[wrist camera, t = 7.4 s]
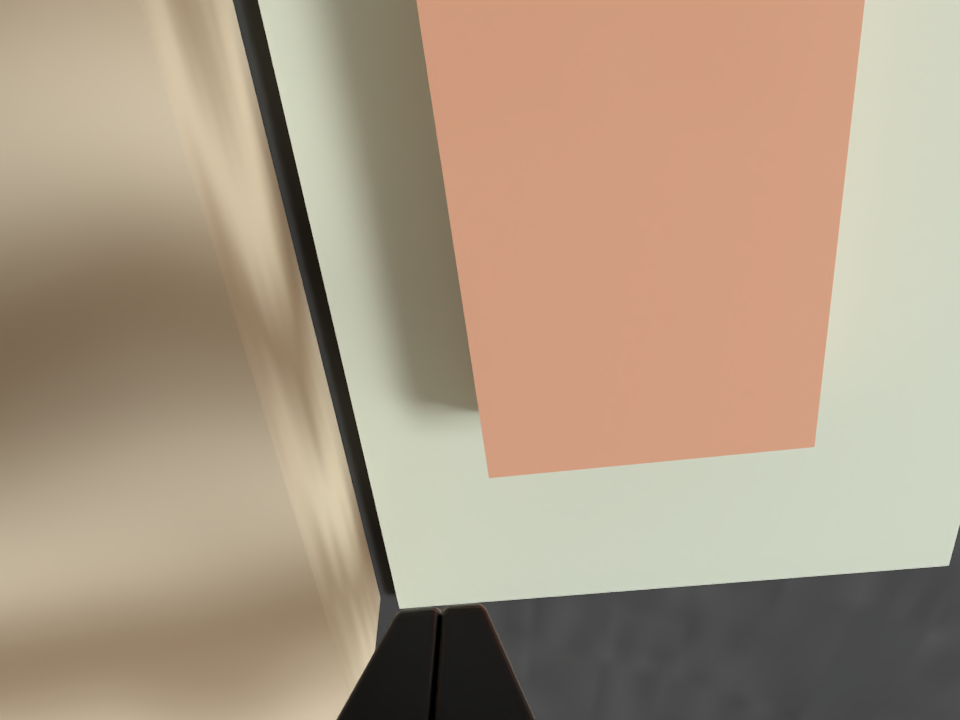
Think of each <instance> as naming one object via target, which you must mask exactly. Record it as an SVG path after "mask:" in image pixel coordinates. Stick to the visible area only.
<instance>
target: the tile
mask: <svg viewBox="0 0 960 720" xmlns="http://www.w3.org/2000/svg"><path fill="white" fill-rule="evenodd" d="M416 2H417V9H418V15H419V22H420V29H421V35H422V42H423V48H424V55H425V61H426V68H427V74H428V81H429V88H430V94H431V101H432V107H433V114H434V120H435V127H436V134H437V140H438V147H439V153H440V160H441V166H442V173H443V180H444V186H445V193H446V199H447V206H448V212H449V219H450V226H451V232H452V239H453V245H454V252H455V258H456V265H457V271H458V278H459V285H460V291H461V298H462V304H463V311H464V317H465V324H466V331H467V337H468V344H469V350H470V357H471V363H472V370H473V377H474V383H475V390H476V396H477V403H478V409H479V416H480V422H481V429H482V436H483V442H484V449H485V455H486V462H487V468H488V475H489V478H496V477H507V476H517V475H528V474H538V473H548V472H559V471H569V470H580V469H590V468H601V467H611V466H622V465H632V464H643V463H653V462H663V461H674V460H684V459H695V458H705V457H716V456H726V455H737V454H747V453H757V452H768V451H778V450H789V449H799V448H810V447H815V438H816V429H817V420H818V411H819V402H820V393H821V385H822V376H823V367H824V358H825V349H826V340H827V331H828V323H829V314H830V305H831V296H832V287H833V278H834V269H835V261H836V252H837V243H838V234H839V225H840V216H841V207H842V199H843V190H844V181H845V172H846V163H847V154H848V146H849V137H850V128H851V119H852V110H853V101H854V92H855V84H856V75H857V66H858V57H859V48H860V39H861V30H862V22H863V13H864V4H865V0H416Z"/></svg>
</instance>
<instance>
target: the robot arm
mask: <svg viewBox="0 0 960 720" xmlns="http://www.w3.org/2000/svg"><path fill="white" fill-rule="evenodd" d="M336 720H536V719H535V717H534V714H533V712H532V710H531V708H530V705H529V703H528V701H527V699H526V696H525V694H524V692H523V690H522V687H521V685H520V683H519V681H518V678H517V676H516V674H515V672H514V669H513V667H512V665H511V663H510V660H509V658H508V656H507V654H506V651H505V649H504V647H503V645H502V642H501V640H500V638H499V636H498V634H497V631H496V629H495V627H494V625H493V622H492V620H491V618H490V616H489V613H488V611H487V609H486V608H485V607H484V606H483V605H481V604H466V605H453V606H447V607H446V608H444V609H443V611H442V612H441V611H440V609H438V608H435V607H426V608H413V609H404V610H401V611H400V612H398V613H397V614H396V615H395V617H394V618H393V620H392V622H391V623H390V625H389V627H388V629H387V630H386V632H385V634H384V636H383V638H382V639H381V641H380V643H379V645H378V646H377V648H376V650H375V652H374V654H373V655H372V657H371V659H370V661H369V662H368V664H367V666H366V668H365V670H364V671H363V673H362V675H361V677H360V678H359V680H358V682H357V684H356V686H355V687H354V689H353V691H352V693H351V694H350V696H349V698H348V700H347V702H346V703H345V705H344V707H343V709H342V710H341V712H340V714H339V716H338V718H337V719H336Z"/></svg>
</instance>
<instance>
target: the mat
mask: <svg viewBox="0 0 960 720" xmlns="http://www.w3.org/2000/svg"><path fill="white" fill-rule="evenodd" d="M258 3H259V7H260V11H261V16H262V20H263V24H264V28H265V33H266V37H267V41H268V46H269V50H270V54H271V59H272V63H273V67H274V71H275V76H276V80H277V84H278V89H279V93H280V97H281V101H282V106H283V110H284V114H285V119H286V123H287V127H288V132H289V136H290V140H291V144H292V149H293V153H294V157H295V162H296V166H297V170H298V175H299V179H300V183H301V187H302V192H303V196H304V200H305V205H306V209H307V213H308V217H309V222H310V226H311V230H312V235H313V239H314V243H315V248H316V252H317V256H318V260H319V265H320V269H321V273H322V278H323V282H324V286H325V291H326V295H327V299H328V303H329V308H330V312H331V316H332V321H333V325H334V329H335V334H336V338H337V342H338V346H339V351H340V355H341V359H342V364H343V368H344V372H345V376H346V381H347V385H348V389H349V394H350V398H351V402H352V407H353V411H354V415H355V419H356V424H357V428H358V432H359V437H360V441H361V445H362V450H363V454H364V458H365V462H366V467H367V471H368V475H369V480H370V484H371V488H372V492H373V497H374V501H375V505H376V510H377V514H378V518H379V523H380V527H381V531H382V535H383V540H384V544H385V548H386V553H387V557H388V561H389V566H390V570H391V574H392V578H393V583H394V587H395V591H396V596H397V600H398V604H399V609H401V608H413V607H426V606H439V605H452V604H465V603H477V602H490V601H503V600H516V599H528V598H541V597H554V596H567V595H579V594H592V593H605V592H618V591H631V590H643V589H656V588H669V587H682V586H694V585H707V584H720V583H733V582H745V581H758V580H771V579H784V578H796V577H809V576H822V575H835V574H848V573H860V572H873V571H886V570H899V569H911V568H924V567H937V566H949V563H950V559H951V555H952V551H953V548H954V544H955V540H956V536H957V532H958V529H959V525H960V0H865V4H864V13H863V22H862V30H861V39H860V48H859V57H858V66H857V75H856V84H855V92H854V101H853V110H852V119H851V128H850V137H849V146H848V154H847V163H846V172H845V181H844V190H843V199H842V207H841V216H840V225H839V234H838V243H837V252H836V261H835V269H834V278H833V287H832V296H831V305H830V314H829V323H828V331H827V340H826V349H825V358H824V367H823V376H822V385H821V393H820V402H819V411H818V420H817V429H816V438H815V447H810V448H799V449H789V450H778V451H768V452H757V453H747V454H737V455H726V456H716V457H705V458H695V459H684V460H674V461H663V462H653V463H643V464H632V465H622V466H611V467H601V468H590V469H580V470H569V471H559V472H548V473H538V474H528V475H517V476H507V477H496V478H489V475H488V468H487V462H486V455H485V449H484V442H483V436H482V429H481V422H480V416H479V409H478V403H477V396H476V390H475V383H474V377H473V370H472V363H471V357H470V350H469V344H468V337H467V331H466V324H465V317H464V311H463V304H462V298H461V291H460V285H459V278H458V271H457V265H456V258H455V252H454V245H453V239H452V232H451V226H450V219H449V212H448V206H447V199H446V193H445V186H444V180H443V173H442V166H441V160H440V153H439V147H438V140H437V134H436V127H435V120H434V114H433V107H432V101H431V94H430V88H429V81H428V74H427V68H426V61H425V55H424V48H423V42H422V35H421V29H420V22H419V15H418V9H417V2H416V0H258Z"/></svg>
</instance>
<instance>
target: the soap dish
mask: <svg viewBox="0 0 960 720" xmlns="http://www.w3.org/2000/svg"><path fill="white" fill-rule="evenodd" d="M379 606H380V594H379V590H378V586H377V582H376V578H375V573H374V569H373V565H372V561H371V557H370V553H369V549H368V545H367V541H366V537H365V533H364V529H363V525H362V521H361V517H360V513H359V509H358V505H357V501H356V497H355V493H354V489H353V485H352V481H351V477H350V473H349V469H348V465H347V460H346V456H345V452H344V448H343V444H342V440H341V436H340V432H339V428H338V424H337V420H336V416H335V412H334V408H333V404H332V400H331V396H330V392H329V388H328V384H327V380H326V376H325V372H324V368H323V364H322V360H321V356H320V352H319V347H318V343H317V339H316V335H315V331H314V327H313V323H312V319H311V315H310V311H309V307H308V303H307V299H306V295H305V291H304V287H303V283H302V279H301V275H300V271H299V267H298V263H297V259H296V255H295V251H294V247H293V243H292V239H291V234H290V230H289V226H288V222H287V218H286V214H285V210H284V206H283V202H282V198H281V194H280V190H279V186H278V182H277V178H276V174H275V170H274V166H273V162H272V158H271V154H270V150H269V146H268V142H267V138H266V134H265V130H264V125H263V121H262V117H261V113H260V109H259V105H258V101H257V97H256V93H255V89H254V85H253V81H252V77H251V73H250V69H249V65H248V61H247V57H246V53H245V49H244V45H243V41H242V37H241V33H240V29H239V25H238V21H237V17H236V12H235V8H234V4H233V0H0V720H336V719H337V718H338V716H339V714H340V712H341V710H342V709H343V707H344V705H345V703H346V702H347V700H348V698H349V696H350V694H351V693H352V691H353V689H354V687H355V686H356V684H357V682H358V680H359V678H360V677H361V675H362V673H363V671H364V670H365V668H366V666H367V664H368V662H369V661H370V659H371V657H372V655H373V654H374V652H375V645H376V635H377V625H378V616H379Z"/></svg>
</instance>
